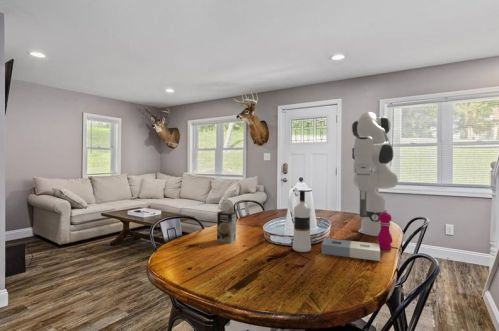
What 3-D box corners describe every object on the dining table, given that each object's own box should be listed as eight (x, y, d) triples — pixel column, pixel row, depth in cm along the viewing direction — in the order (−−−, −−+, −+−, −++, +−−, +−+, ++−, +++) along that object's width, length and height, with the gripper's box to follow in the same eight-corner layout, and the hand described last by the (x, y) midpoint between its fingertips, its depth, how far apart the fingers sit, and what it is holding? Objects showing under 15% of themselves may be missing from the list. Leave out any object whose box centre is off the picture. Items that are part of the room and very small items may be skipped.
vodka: (291, 247, 149) (291, 189, 148) (308, 247, 149) (309, 189, 148) (294, 252, 139) (295, 191, 139) (313, 252, 140) (313, 191, 139)
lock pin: (359, 215, 139) (359, 187, 139) (366, 216, 138) (367, 187, 137) (359, 216, 136) (359, 187, 136) (366, 217, 135) (367, 187, 134)
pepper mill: (394, 250, 144) (394, 211, 143) (378, 249, 145) (379, 210, 145) (390, 246, 151) (390, 208, 150) (375, 245, 152) (376, 208, 152)
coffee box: (216, 241, 158) (216, 212, 158) (222, 238, 164) (222, 210, 164) (231, 243, 154) (231, 213, 154) (236, 240, 160) (236, 211, 160)
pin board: (324, 246, 150) (324, 238, 150) (379, 253, 140) (379, 243, 140) (321, 253, 139) (321, 244, 138) (380, 261, 129) (380, 251, 129)
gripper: (356, 169, 147) (356, 195, 147) (355, 170, 128) (355, 200, 128) (370, 169, 145) (369, 196, 145) (371, 170, 126) (370, 201, 126)
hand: (363, 198), depth 137 cm, fingers closed on lock pin, 3 cm apart
